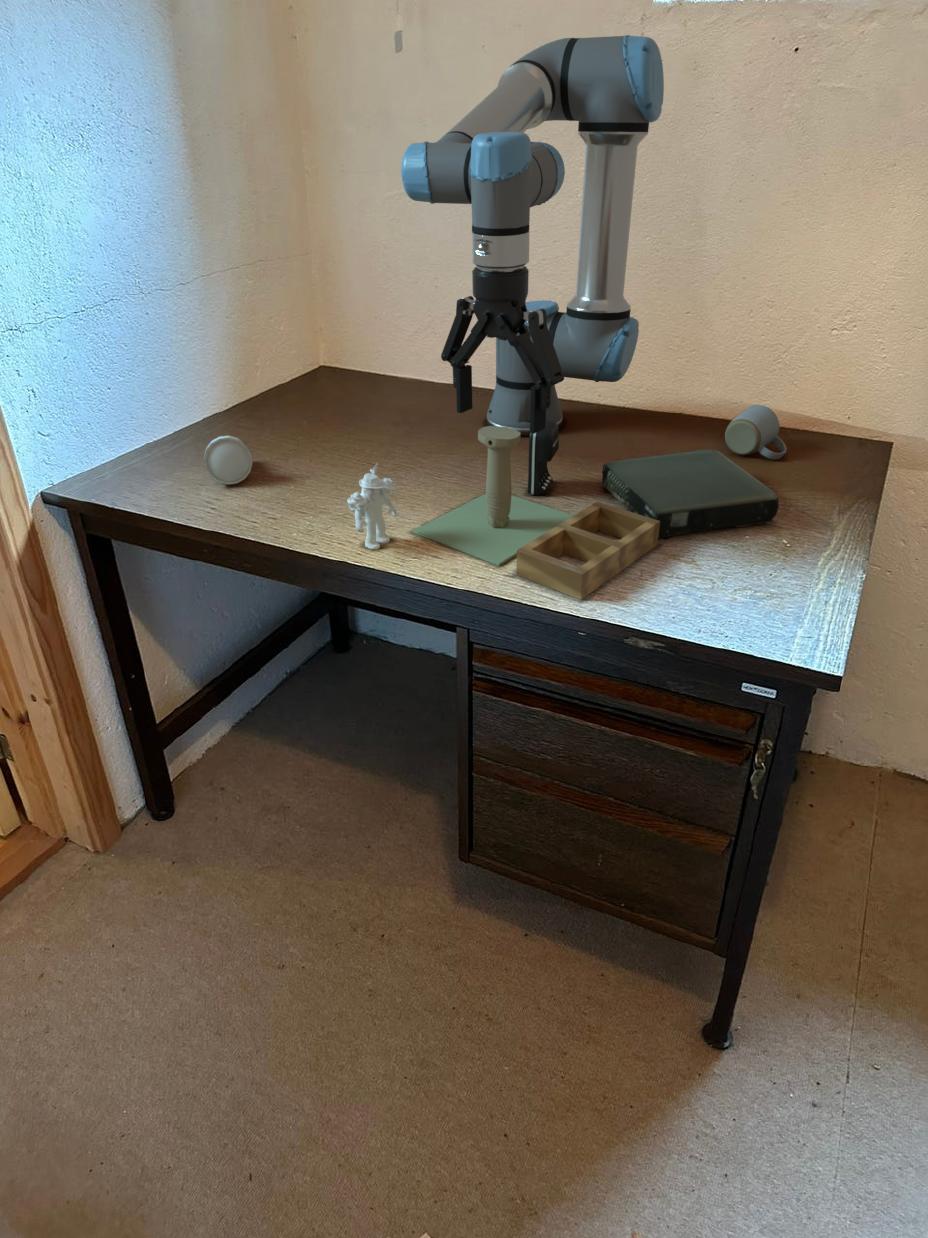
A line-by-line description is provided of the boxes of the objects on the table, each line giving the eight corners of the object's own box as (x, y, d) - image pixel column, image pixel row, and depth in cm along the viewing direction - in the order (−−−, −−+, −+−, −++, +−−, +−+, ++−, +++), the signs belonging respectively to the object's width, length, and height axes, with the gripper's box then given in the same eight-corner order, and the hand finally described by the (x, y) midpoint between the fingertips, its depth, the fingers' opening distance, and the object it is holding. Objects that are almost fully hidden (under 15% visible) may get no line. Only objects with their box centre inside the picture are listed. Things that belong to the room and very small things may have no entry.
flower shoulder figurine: (386, 528, 134) (381, 456, 128) (405, 535, 132) (401, 462, 126) (346, 550, 128) (339, 476, 122) (366, 558, 126) (359, 482, 120)
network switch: (586, 490, 145) (588, 462, 143) (702, 468, 152) (706, 441, 150) (662, 549, 127) (666, 518, 124) (790, 521, 134) (797, 492, 131)
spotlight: (203, 483, 147) (204, 436, 144) (203, 471, 157) (204, 427, 154) (251, 486, 149) (253, 439, 146) (249, 474, 159) (250, 431, 157)
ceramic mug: (719, 452, 158) (725, 412, 154) (737, 439, 164) (744, 400, 160) (774, 466, 153) (783, 425, 149) (791, 452, 158) (800, 412, 154)
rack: (595, 524, 134) (597, 501, 132) (657, 545, 128) (660, 520, 126) (516, 574, 121) (516, 549, 119) (580, 600, 115) (582, 574, 113)
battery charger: (549, 498, 143) (551, 432, 137) (526, 495, 144) (528, 430, 138) (558, 482, 148) (561, 418, 142) (537, 479, 149) (539, 416, 143)
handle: (507, 535, 131) (508, 441, 123) (472, 525, 134) (471, 433, 126) (523, 523, 134) (526, 431, 126) (489, 513, 137) (489, 423, 129)
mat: (493, 491, 146) (493, 488, 145) (576, 518, 136) (576, 516, 136) (413, 532, 133) (413, 530, 133) (498, 566, 123) (498, 563, 123)
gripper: (412, 260, 118) (420, 409, 130) (561, 283, 104) (555, 447, 116) (448, 251, 123) (452, 396, 134) (595, 272, 109) (585, 431, 121)
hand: (500, 420), depth 125 cm, fingers open, 13 cm apart
